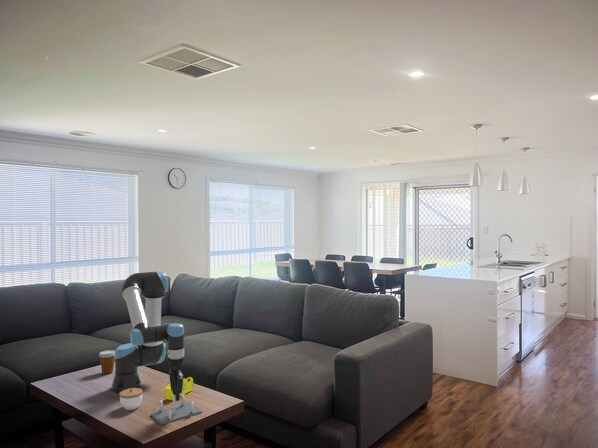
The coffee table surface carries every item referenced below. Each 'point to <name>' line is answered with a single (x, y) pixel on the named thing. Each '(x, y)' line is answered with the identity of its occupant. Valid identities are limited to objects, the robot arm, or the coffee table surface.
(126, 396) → the lidded jar
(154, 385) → the coffee table surface
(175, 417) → the pin tray
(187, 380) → the yellow toy chassis
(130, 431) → the coffee table surface
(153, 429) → the coffee table surface
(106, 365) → the disposable coffee cup
